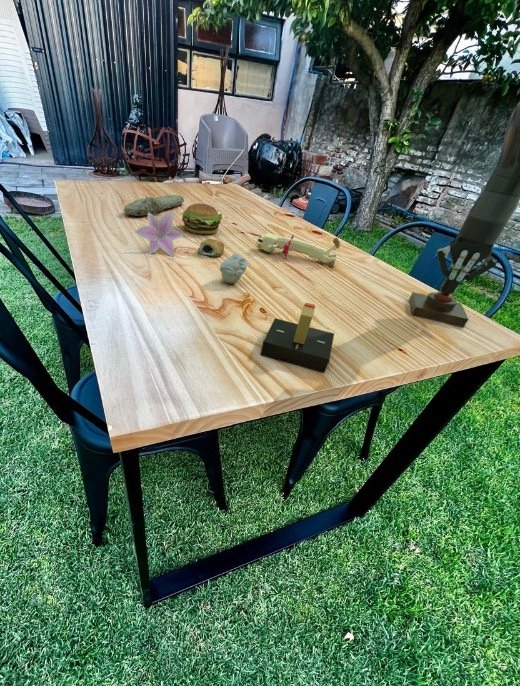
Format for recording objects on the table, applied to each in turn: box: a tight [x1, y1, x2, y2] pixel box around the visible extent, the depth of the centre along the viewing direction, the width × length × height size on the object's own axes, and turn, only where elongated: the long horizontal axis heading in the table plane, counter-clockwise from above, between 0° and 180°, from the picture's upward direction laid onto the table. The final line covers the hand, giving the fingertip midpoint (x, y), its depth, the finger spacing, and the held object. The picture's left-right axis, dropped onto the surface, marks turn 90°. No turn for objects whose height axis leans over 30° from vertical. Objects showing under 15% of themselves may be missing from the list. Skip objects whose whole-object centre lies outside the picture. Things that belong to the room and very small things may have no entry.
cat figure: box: [255, 232, 341, 268], centre depth 106 cm, size 10×9×25 cm
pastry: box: [197, 238, 225, 258], centre depth 103 cm, size 9×7×4 cm
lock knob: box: [293, 302, 316, 344], centre depth 63 cm, size 5×2×6 cm, turn 161°
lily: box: [134, 210, 184, 257], centre depth 98 cm, size 12×12×10 cm
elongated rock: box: [123, 194, 185, 217], centre depth 133 cm, size 35×5×10 cm
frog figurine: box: [219, 253, 248, 285], centre depth 86 cm, size 6×7×7 cm
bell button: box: [435, 290, 454, 302], centre depth 85 cm, size 4×4×2 cm
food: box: [180, 202, 223, 236], centre depth 117 cm, size 14×14×8 cm
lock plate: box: [260, 317, 335, 373], centre depth 66 cm, size 12×10×3 cm
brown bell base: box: [408, 291, 470, 328], centre depth 86 cm, size 12×10×4 cm
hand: (444, 293), depth 85 cm, fingers closed
